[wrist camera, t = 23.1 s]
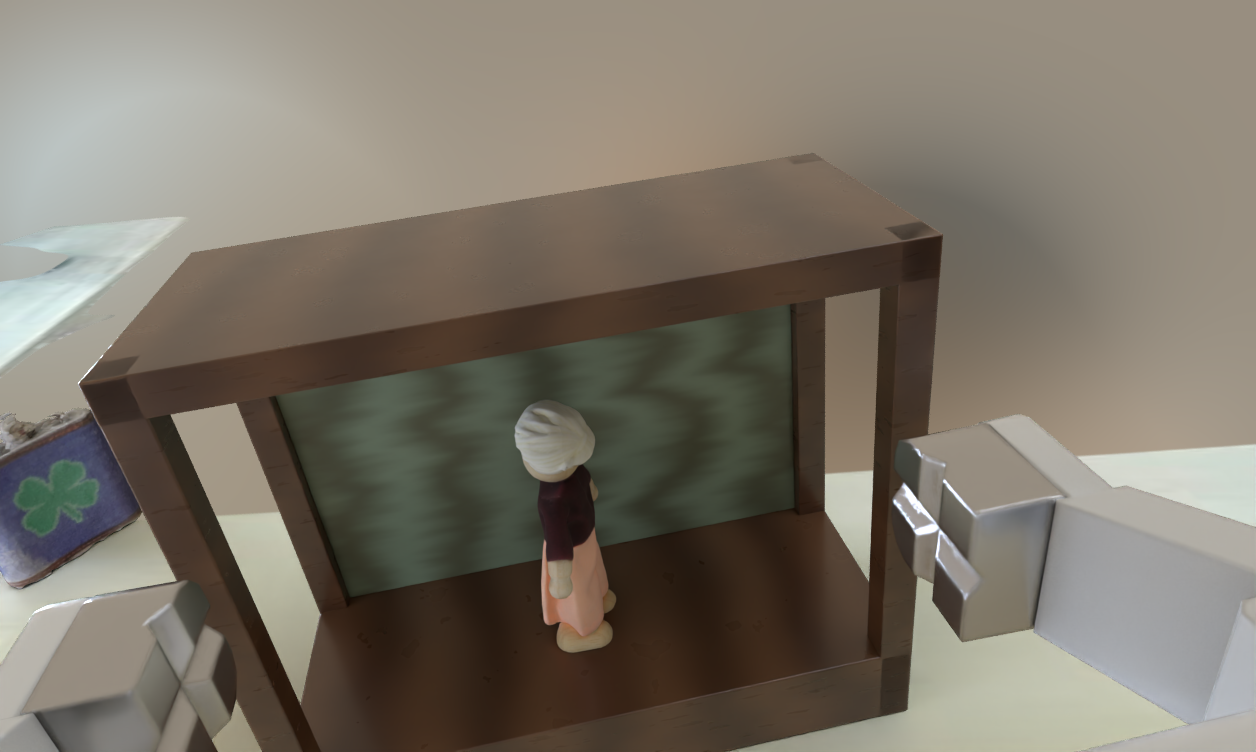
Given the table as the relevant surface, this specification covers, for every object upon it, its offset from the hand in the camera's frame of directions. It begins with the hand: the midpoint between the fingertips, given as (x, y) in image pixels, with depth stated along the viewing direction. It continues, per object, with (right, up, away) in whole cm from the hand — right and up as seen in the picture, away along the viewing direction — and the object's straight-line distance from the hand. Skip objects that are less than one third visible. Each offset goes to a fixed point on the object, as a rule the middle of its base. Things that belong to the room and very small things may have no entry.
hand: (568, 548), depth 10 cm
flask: (-38, -10, +49) cm, 63 cm away
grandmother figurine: (-1, -11, +31) cm, 33 cm away
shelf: (-1, -14, +34) cm, 36 cm away
